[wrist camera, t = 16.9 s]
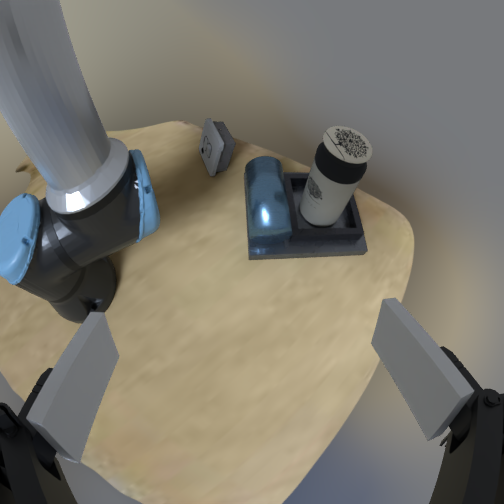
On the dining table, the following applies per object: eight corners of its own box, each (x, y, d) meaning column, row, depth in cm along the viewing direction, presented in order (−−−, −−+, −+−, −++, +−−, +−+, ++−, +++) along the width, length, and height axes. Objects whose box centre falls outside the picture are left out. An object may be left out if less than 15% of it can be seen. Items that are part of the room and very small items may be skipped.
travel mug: (331, 191, 53) (361, 125, 36) (344, 225, 50) (383, 163, 33) (294, 194, 52) (314, 124, 36) (305, 230, 49) (333, 164, 33)
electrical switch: (198, 150, 59) (197, 118, 50) (219, 145, 60) (221, 114, 52) (210, 178, 55) (211, 146, 47) (233, 173, 57) (237, 141, 49)
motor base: (248, 260, 48) (250, 237, 40) (244, 178, 56) (244, 148, 47) (363, 254, 50) (383, 233, 42) (344, 179, 57) (357, 152, 49)
